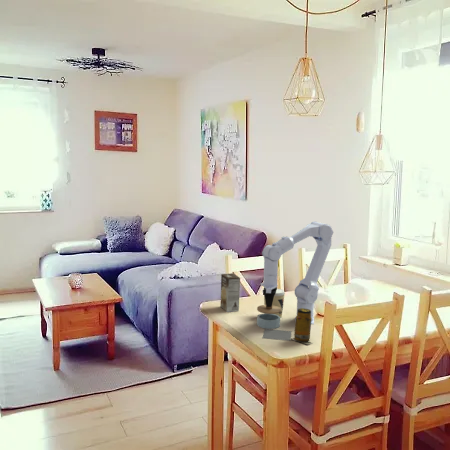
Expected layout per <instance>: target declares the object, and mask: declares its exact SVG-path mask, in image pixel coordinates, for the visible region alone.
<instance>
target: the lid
mask: <svg viewBox="0 0 450 450" xmlns="http://www.w3.org/2000/svg"><path fill="white" fill-rule="evenodd" d="M256 310H257V312H258V313H259V312H260V314H265V313H266V314H277V313H280V312H281V308H280V307H277V306H273V305H272V306H271V307H266V305H264V304H262V305H258V306H257V307H256Z"/></svg>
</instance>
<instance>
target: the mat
mask: <svg viewBox="0 0 450 450" xmlns="http://www.w3.org/2000/svg"><path fill="white" fill-rule="evenodd" d="M261 338H262V339H266V340H278V341H289V342H291V339H290V338H292V331H291V330H283V329H282V330H281V329H266V328H264V331H263V334H262V337H261Z"/></svg>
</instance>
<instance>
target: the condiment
mask: <svg viewBox="0 0 450 450" xmlns="http://www.w3.org/2000/svg"><path fill="white" fill-rule="evenodd" d="M295 318H296V323H295V322H294V323H295V326H294V334H293V335H294V337H291V338H290V339H291V340H292V341H295V342H298V343H301V344H306V345H311V344H313V342H311V341H310V340H311V328H312V324H311V319H312V318H311V310H309V309H304V308H300V309H298V313H297V312H296V315H295ZM291 340H290V341H291Z"/></svg>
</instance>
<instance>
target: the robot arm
mask: <svg viewBox="0 0 450 450" xmlns="http://www.w3.org/2000/svg"><path fill="white" fill-rule="evenodd" d="M333 234H334V230H333V227H332V226H331V225H330V224H328V223H324V222H318V221H312V222H311V223H308V224H307V225H306V226H305V227H303V228H302V229H300V230H299V231H297V232H296V233H294V234H293V235H291V236H290V237H289V236H282V237H281V239H279V240H277V241H276V242H275V241H274V242H272V244H268V245H265V246H264V248H263V250H262V252H261V255H262V257H263V282H260V286H261V287H263V289H262V293H263V297H264V296H265V301H266V307H271V306H272V303H273V299H274V295H275V293H276V290H277V289H278V270H279V269H278V267H279V260H280V259H281V257H282V255H284V254H285V253H287V252H288V251H290V250H292V249H294V246H295V245H296V244H297V243H299V242H301V241H303V240H305V239H307V238H309V237H312V238H313V239H314V240H315V242H316V248H315V251H314V254H313V256H312V259H311V262H310V263H309V266H308V269H307V272H306V274H305V277H304V278H302V279H300V280H299V283H298V285H297V286H295V288H294V296H295V297H296V301H297V302H296V314H297V313H298V309H300V308H304V309H309V310H311V318H312V319H311V325H314V324H315V318H314V305H315V303H316V301H317V300H318V296H319V295H318V293H319V290H320V287H319V286H318V280H319V277H320V276H321V273H322V270H323V267H324V265H325V262H326V261H327V259H328V258H327V257H328V254H329V252H330V249H331V247H332V237H333ZM294 323H296V317H295V319H294Z"/></svg>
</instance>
